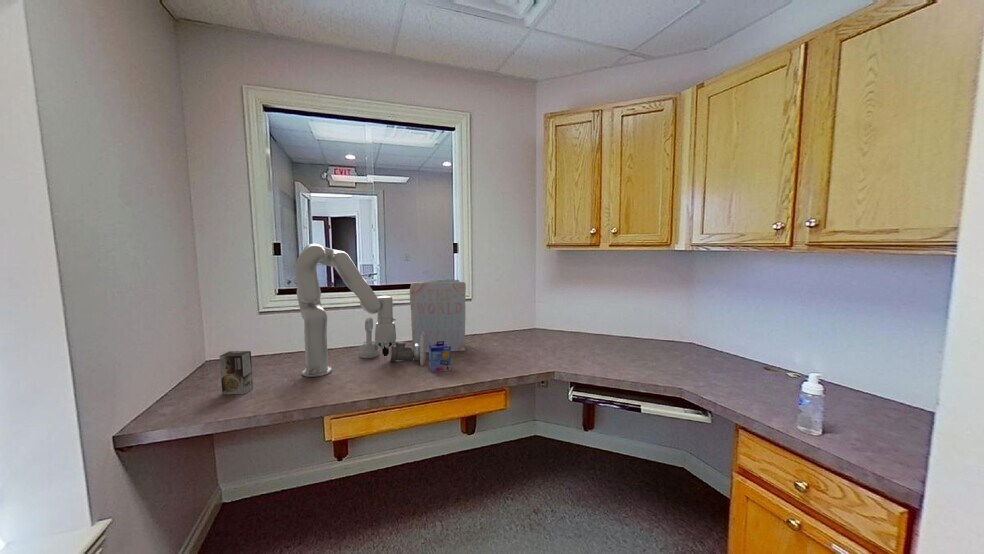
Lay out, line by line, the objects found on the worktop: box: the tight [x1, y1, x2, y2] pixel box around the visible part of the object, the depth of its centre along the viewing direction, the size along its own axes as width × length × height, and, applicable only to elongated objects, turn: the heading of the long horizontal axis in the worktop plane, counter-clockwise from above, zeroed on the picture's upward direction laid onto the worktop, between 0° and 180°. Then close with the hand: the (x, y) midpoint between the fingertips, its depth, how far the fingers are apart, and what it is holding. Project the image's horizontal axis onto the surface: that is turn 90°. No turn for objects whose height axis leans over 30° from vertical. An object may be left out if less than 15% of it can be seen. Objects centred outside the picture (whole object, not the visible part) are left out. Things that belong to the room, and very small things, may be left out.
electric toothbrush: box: [358, 316, 380, 359], centre depth 208 cm, size 11×20×10 cm
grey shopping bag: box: [409, 279, 467, 353], centre depth 222 cm, size 17×31×40 cm, turn 101°
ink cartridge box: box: [428, 341, 452, 373], centre depth 185 cm, size 10×6×14 cm, turn 111°
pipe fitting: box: [389, 341, 414, 363], centre depth 198 cm, size 12×8×10 cm
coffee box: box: [218, 350, 254, 395], centre depth 157 cm, size 9×6×16 cm
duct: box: [413, 331, 427, 366], centre depth 199 cm, size 14×5×14 cm, turn 5°
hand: (385, 355), depth 198 cm, fingers closed
